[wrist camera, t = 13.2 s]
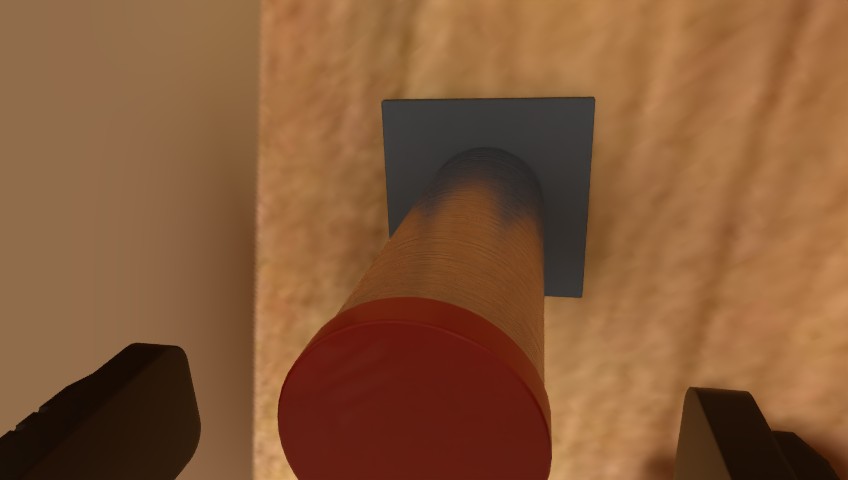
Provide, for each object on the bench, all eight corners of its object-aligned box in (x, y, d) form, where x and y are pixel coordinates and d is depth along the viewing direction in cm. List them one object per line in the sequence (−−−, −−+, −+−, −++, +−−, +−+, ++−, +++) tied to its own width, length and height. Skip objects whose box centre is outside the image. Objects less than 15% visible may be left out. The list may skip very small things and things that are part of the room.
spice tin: (424, 143, 20) (258, 311, 8) (549, 143, 19) (557, 330, 8) (428, 257, 21) (292, 534, 10) (544, 262, 20) (546, 569, 9)
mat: (384, 99, 20) (380, 101, 20) (594, 96, 19) (595, 98, 18) (394, 284, 22) (392, 288, 22) (581, 293, 21) (582, 298, 21)
